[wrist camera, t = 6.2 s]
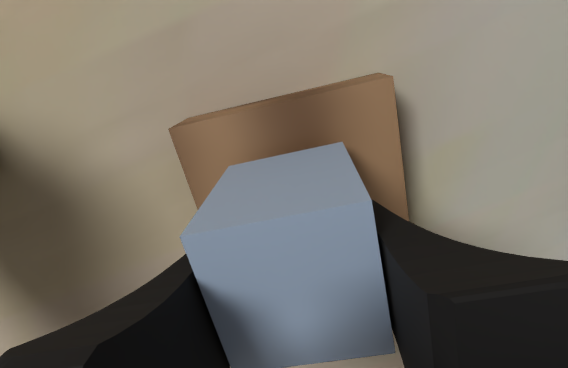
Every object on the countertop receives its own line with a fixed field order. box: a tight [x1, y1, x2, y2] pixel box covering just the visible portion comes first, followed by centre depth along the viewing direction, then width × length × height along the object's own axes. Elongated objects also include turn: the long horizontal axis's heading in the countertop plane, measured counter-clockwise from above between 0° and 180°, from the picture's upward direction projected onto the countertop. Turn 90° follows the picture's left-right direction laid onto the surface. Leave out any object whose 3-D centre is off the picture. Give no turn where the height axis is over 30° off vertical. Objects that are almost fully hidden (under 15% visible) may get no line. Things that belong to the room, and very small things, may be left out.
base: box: [168, 73, 409, 221], centre depth 15 cm, size 9×9×2 cm
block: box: [180, 142, 395, 368], centre depth 11 cm, size 4×4×6 cm
